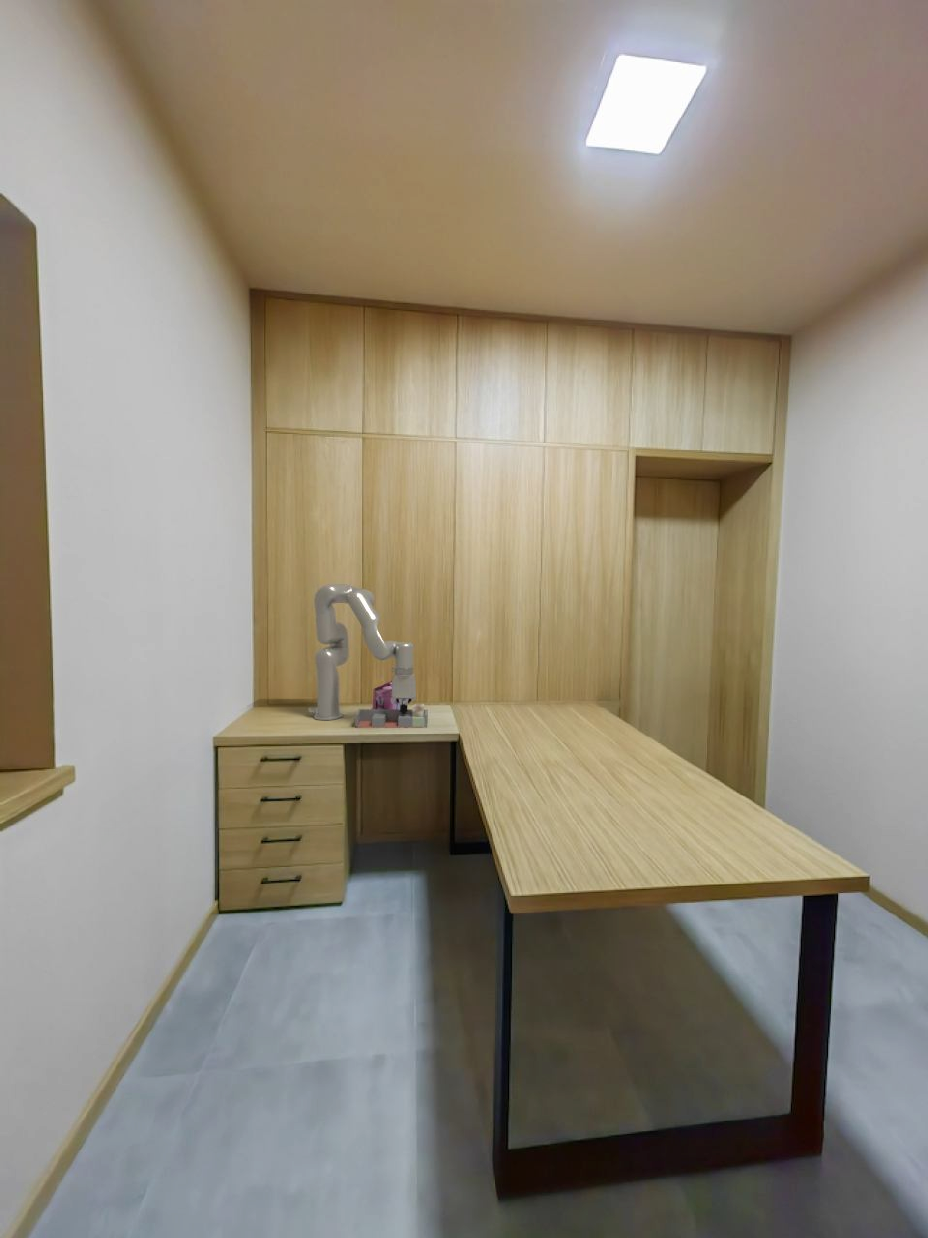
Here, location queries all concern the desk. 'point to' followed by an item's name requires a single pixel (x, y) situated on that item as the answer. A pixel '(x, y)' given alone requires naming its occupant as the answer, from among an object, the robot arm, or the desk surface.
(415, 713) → the cream block
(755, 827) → the desk surface
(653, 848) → the desk surface
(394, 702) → the gum box
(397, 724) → the track
